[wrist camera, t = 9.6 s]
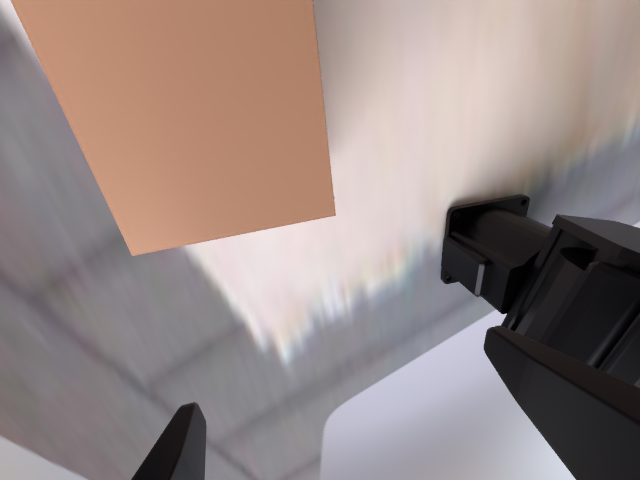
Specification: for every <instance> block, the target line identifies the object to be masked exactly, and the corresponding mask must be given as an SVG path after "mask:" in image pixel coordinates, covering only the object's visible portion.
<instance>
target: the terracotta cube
mask: <svg viewBox="0 0 640 480" xmlns="http://www.w3.org/2000/svg"><path fill="white" fill-rule="evenodd" d="M11 2H12V4H13V6H14V8H15V10H16V13H17V15H18V17H19V19H20V21H21V23H22V25H23V27H24V29H25V31H26V34H27V36H28V38H29V40H30V42H31V44H32V46H33V48H34V50H35V52H36V55H37V57H38V59H39V61H40V63H41V65H42V67H43V69H44V71H45V73H46V76H47V78H48V80H49V82H50V84H51V86H52V88H53V90H54V92H55V94H56V97H57V99H58V101H59V103H60V105H61V107H62V109H63V111H64V113H65V115H66V118H67V120H68V122H69V124H70V126H71V128H72V130H73V132H74V134H75V136H76V139H77V141H78V143H79V145H80V147H81V149H82V151H83V153H84V155H85V158H86V160H87V162H88V164H89V166H90V168H91V170H92V172H93V174H94V176H95V179H96V181H97V183H98V185H99V187H100V189H101V191H102V193H103V195H104V197H105V200H106V202H107V204H108V206H109V208H110V210H111V212H112V214H113V216H114V218H115V221H116V223H117V225H118V227H119V229H120V231H121V233H122V235H123V237H124V239H125V242H126V244H127V246H128V248H129V250H130V252H131V254H132V256H134V255H139V254H144V253H149V252H154V251H159V250H164V249H169V248H174V247H180V246H185V245H190V244H195V243H200V242H205V241H210V240H215V239H220V238H225V237H230V236H235V235H240V234H245V233H250V232H255V231H260V230H265V229H270V228H275V227H280V226H285V225H290V224H295V223H300V222H305V221H310V220H315V219H320V218H325V217H330V216H335V215H336V213H335V204H334V194H333V185H332V176H331V167H330V157H329V148H328V139H327V130H326V120H325V111H324V102H323V93H322V83H321V74H320V65H319V56H318V46H317V37H316V28H315V19H314V9H313V0H11Z"/></svg>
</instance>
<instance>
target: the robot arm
mask: <svg viewBox="0 0 640 480" xmlns="http://www.w3.org/2000/svg"><path fill="white" fill-rule="evenodd" d="M521 201H522V202H521ZM529 201H530V199H529V197H528V196H525V195H516V196H511V197H505V198H500V199H494V200H489V201H484V202H478V203H473V204H467V205H462V206H457V207H452V208H451V209H449V210H448V212H447V217H446V227H445V237H444V241H443V251H442V262H441V266H442V269H441V280H442V281H443V282H444V283H446V284H450V283H455V282H460V283H461V284H462V285H463V286H465V287H466V288H467V289H468V290H469V291H470V292H471V293H473V294H474V295H475V296H477V297H479V296H481V297H483V298H484V299H485V300H486V301H487V302H488V303H490V304H491V305H492V306H493V307H494V308H496V309H497V310H498V311H499V312H500V313H501V314H506V313H507V315H506V317H505V319H504V321H503V323H502V325H501V326H495V327H491V328H489V329H488V330H487V332H486V337H485V343H484V351H485V353H486V355H487V357H488V358H489V360H490V361H491V363H492V365H493V366H494V368H495V369H496V371H497V372H498V374H499V376H500V377H501V379H502V380H503V382H504V383H505V385H506V387H507V388H508V390H509V391H510V393H511V394H512V396H513V397H514V399H515V400H516V401H517V403H518V404H519V406H520V407H521V408H522V410H523V411H524V412H525V414H526V415H527V416H528V417H529V419H530V420H531V421H532V423H533V424H534V425H535V427H536V428H537V429H538V431H539V432H540V433H541V434H542V436H543V437H544V438H545V440H546V441H547V442H548V444H549V445H550V446H551V447H552V449H553V450H554V451H555V453H556V454H557V455H558V456H559V458H560V459H561V461H562V462H563V463H564V464H565V466H566V467H567V468H568V470H569V471H570V472H571V473H572V475H573V476H574V477H575V479H576V480H640V228H637V227H634V226H630V225H627V224H623V223H620V222H616V221H609V220H600V219H592V218H584V217H575V216H567V215H559V214H557V215H556V217H555V219H554V221H553V223H552V224H554V225H553V227H552V228H551V227H549V226H546V225H544V224H542V223H539V222H537V221H535V220H532V219H530V218H528V217H526V215H527V210H528V206H529ZM454 213H456V215H455V216H453V215H454ZM448 276H449V277H448ZM447 277H448V278H447ZM205 451H206V421H205V418H204V416H203V414H202V411H201V409H200V407H199V405H198V404H197V403H196V402H193V403H189V404H185V405H182V406H181V407H180V408H179V409H178V410H177V412H176V413H175V415H174V416H173V418H172V419H171V421H170V422H169V424H168V425H167V427H166V428H165V430H164V431H163V433H162V434H161V436H160V437H159V439H158V440H157V442H156V443H155V445H154V446H153V448H152V449H151V451H150V452H149V454H148V455H147V457H146V458H145V460H144V461H143V463H142V464H141V466H140V467H139V469H138V470H137V472H136V473H135V475H134V476H133V478H132V479H131V480H204V479H205Z"/></svg>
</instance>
